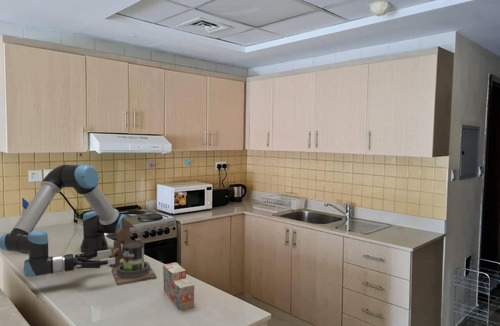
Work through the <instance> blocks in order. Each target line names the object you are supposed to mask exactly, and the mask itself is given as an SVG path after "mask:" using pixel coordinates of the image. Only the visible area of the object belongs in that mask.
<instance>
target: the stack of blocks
mask: <svg viewBox="0 0 500 326" xmlns="http://www.w3.org/2000/svg"><path fill="white" fill-rule="evenodd" d="M162 277H163V292H164V293H165V295H166V297H168V299H170V301H171V302H173V304H174V305H175V306H176V308H178V310H179V311H182V310H183V311H184V310H187V309H190V308H194V307H195V284H193V282H192V281H191V280H190V279H189V278H187V270H186V269H185V268H183V266H181V265H180V264H179V263H178V262H171V263H166V264H165V263H164V264H163V265H162Z"/></svg>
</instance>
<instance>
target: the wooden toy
mask: <svg viewBox="0 0 500 326" xmlns="http://www.w3.org/2000/svg"><path fill="white" fill-rule="evenodd" d="M134 227H135V225H133V223H131V222H129V220H128V221H127V220H126V219H125V218H123V217H122V228H119V229H118V230H117V231H116V234H115V239H116V240H113V250H112V251H111V253H112V255H110V256H108V259H109V258H115V264H110V265H109V266H110V267H111V268H112V269H113V268H117V267H118V266H119V265H120V264H121V260H123V248H122V245H123V244H125V243H129V242H131V236H130V235H131V231H130V229H131V228H134ZM141 239H142V238H139V237H137V238H134V242H142V240H141Z"/></svg>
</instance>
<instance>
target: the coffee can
mask: <svg viewBox="0 0 500 326" xmlns="http://www.w3.org/2000/svg"><path fill="white" fill-rule="evenodd" d="M122 248H123V259H122V264H123V270H124V271H136V270H141V269H143V268H144V262H145V243H144V242H142V241H141V242H135V241H130V242H129V243H125V244H123V245H122V244H121V249H122Z"/></svg>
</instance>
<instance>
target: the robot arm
mask: <svg viewBox="0 0 500 326" xmlns="http://www.w3.org/2000/svg"><path fill="white" fill-rule="evenodd" d="M99 179H100V177H99V172H98V171H97V169H96V168H95V167H94V166H92V165H89V164H61V165H58V166H56V167H55V168H53V169H52V170H50V172H48V173H47V175H46V176H45V177H44V178H43V179H42V181H41V182H40V187H39V188H38V191H37V192H36V193H35V195H34V196H33V198H32V200H30V203H29V206H28V207H27V209H26V210H25V212H24V213H23V215H22V214H21V215H22V216H20V217H19V219H18V221H17V222H16V224H15V225H14V227H13V228H12V230H11V231H10V232H9V233H4V234H3V235H1V236H0V249H1V250H3V251H8V252H18V253H21V252H27V253H29V254H28V259H25V260H24V261H23V274H24V277H27V278H29V277H31V278H32V277H39V276H44V275H45V276H46V275H51V274H56V275H57V274H59V273H63V272H71V271H74V269H75V268H76V270H78V269H100V268H101V266H103V267H104V266H110V264H115V258H109V256H110V255H112V249H109V244H108V241H107V238H106V236H105V234H110V235H116V231H117V230H118V229H119V228H122V217H123V218H125V219H126V220H127V221H128V222H129V219H128V218H129V217H128V215H126V214H125V213H124V214H123V213H120V212H119V210H118V209H116V208H113V206H112V205H111V203H110V202H109V200H108V199H107V197H106V196H105V195H104V193H103V191H102V190H101V189H100V188H99V186H98V185H99ZM64 188H72V189H74V190H75V192H76V193H77V194H79V195H82V196H83V197H84V199H86V201H87V202H88V204H89V205H90V206H91V208H92V209H93V210H91V211H87V212H84V213H83V215H82V216H83V217H82V231H83V232H82V233H83V239H82V242H81V245H80V252H81V253H79V254H74V253H68V254H64V255H63V254H60V255H54V256H53V255H52V256H49V238H48V237H49V236H48V232H47V230H34V229H35V228H36V226H37V224H38V222H40V220H41V218H42V216H43V215H44V213H45V212H46V211H47V209H48V207H49V206H50V204H51V202H52V201H53V199H54V198H55V196H56V194H59V193H60V192H61V190H62V189H64ZM32 231H33V232H32ZM100 257H101V258H102V257H108V258H102V259H99V260H94V258H100ZM74 267H75V268H74Z"/></svg>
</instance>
